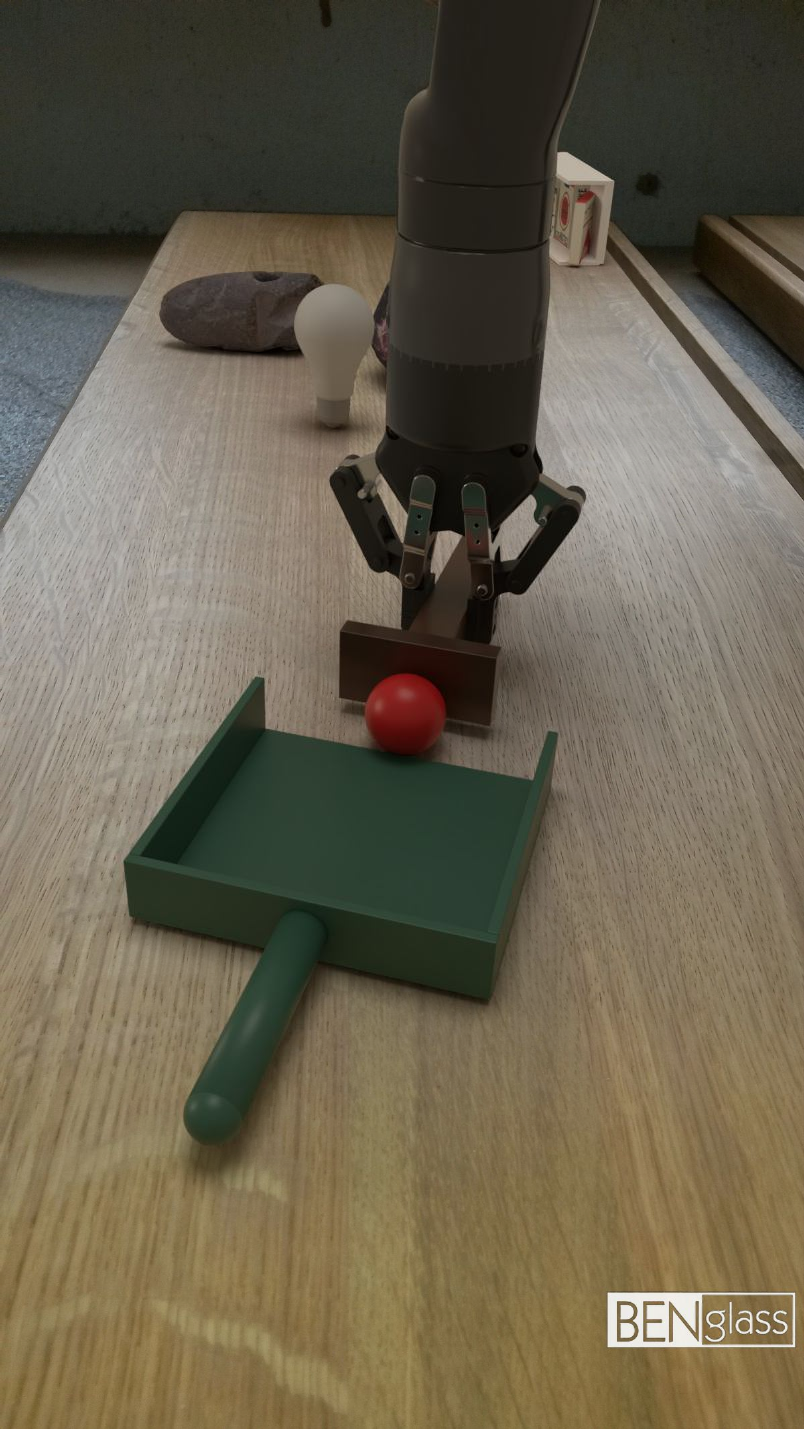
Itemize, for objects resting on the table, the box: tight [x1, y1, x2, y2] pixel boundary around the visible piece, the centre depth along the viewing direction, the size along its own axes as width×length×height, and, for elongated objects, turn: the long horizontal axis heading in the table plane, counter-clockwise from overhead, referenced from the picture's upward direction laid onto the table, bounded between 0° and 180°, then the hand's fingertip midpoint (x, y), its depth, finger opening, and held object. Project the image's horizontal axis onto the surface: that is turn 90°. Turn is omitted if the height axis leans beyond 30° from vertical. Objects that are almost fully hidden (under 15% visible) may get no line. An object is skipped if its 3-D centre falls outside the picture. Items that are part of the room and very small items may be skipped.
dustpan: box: [123, 676, 559, 1147], centre depth 49 cm, size 24×15×3 cm, turn 165°
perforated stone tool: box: [158, 270, 325, 353], centre depth 111 cm, size 15×5×7 cm, turn 88°
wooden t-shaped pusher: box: [338, 535, 503, 727], centre depth 67 cm, size 15×8×4 cm, turn 164°
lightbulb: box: [294, 283, 375, 428], centre depth 94 cm, size 6×6×11 cm
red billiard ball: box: [364, 674, 447, 756], centre depth 60 cm, size 4×4×4 cm
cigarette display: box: [549, 151, 615, 267], centre depth 149 cm, size 20×6×9 cm, turn 10°
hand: (447, 643), depth 68 cm, fingers closed on wooden t-shaped pusher, 2 cm apart
